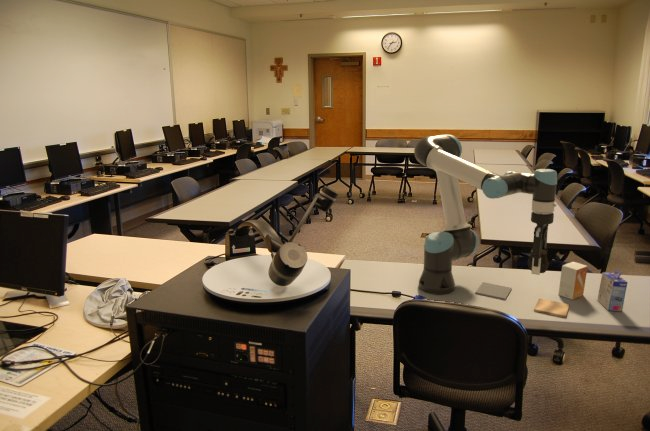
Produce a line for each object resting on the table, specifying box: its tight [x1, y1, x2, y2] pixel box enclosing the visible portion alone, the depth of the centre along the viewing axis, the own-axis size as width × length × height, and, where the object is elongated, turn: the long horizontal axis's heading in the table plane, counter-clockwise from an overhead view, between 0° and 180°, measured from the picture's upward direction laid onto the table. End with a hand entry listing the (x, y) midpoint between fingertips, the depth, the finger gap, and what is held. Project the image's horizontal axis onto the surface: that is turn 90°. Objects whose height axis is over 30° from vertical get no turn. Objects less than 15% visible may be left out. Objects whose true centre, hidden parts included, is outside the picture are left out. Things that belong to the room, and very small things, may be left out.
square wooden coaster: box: [533, 298, 570, 319], centre depth 186 cm, size 11×11×1 cm
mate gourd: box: [527, 247, 550, 274], centre depth 180 cm, size 7×8×10 cm
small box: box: [558, 261, 588, 301], centre depth 195 cm, size 8×6×13 cm
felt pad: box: [475, 282, 512, 301], centre depth 201 cm, size 12×12×1 cm
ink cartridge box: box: [597, 269, 628, 312], centre depth 185 cm, size 10×6×14 cm, turn 174°
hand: (537, 270), depth 181 cm, fingers closed on mate gourd, 7 cm apart
